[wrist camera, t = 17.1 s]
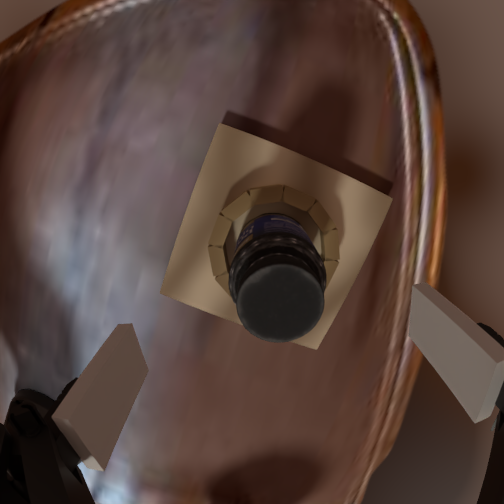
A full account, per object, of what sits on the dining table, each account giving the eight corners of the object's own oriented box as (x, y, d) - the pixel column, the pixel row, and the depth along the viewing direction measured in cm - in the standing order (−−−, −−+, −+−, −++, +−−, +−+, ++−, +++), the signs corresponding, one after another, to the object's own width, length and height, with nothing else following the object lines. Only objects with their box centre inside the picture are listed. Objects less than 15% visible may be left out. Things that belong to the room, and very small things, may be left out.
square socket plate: (163, 288, 29) (153, 301, 26) (221, 124, 25) (216, 119, 22) (314, 343, 31) (319, 360, 28) (387, 196, 26) (401, 201, 23)
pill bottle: (240, 207, 26) (226, 241, 15) (313, 215, 26) (349, 254, 15) (233, 277, 28) (218, 348, 17) (303, 284, 28) (325, 357, 17)
